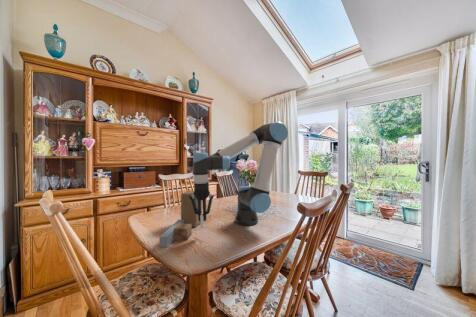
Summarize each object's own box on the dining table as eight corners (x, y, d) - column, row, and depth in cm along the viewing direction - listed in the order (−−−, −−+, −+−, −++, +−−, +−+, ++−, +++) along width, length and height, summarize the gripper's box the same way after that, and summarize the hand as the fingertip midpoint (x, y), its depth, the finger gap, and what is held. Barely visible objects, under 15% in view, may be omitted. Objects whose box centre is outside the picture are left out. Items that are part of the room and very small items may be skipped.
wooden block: (195, 227, 119) (195, 194, 119) (180, 226, 121) (180, 193, 121) (202, 222, 129) (202, 191, 128) (187, 220, 131) (187, 190, 130)
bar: (184, 228, 118) (184, 219, 118) (167, 247, 94) (167, 236, 94) (178, 228, 119) (178, 219, 118) (159, 247, 95) (159, 236, 94)
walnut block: (191, 234, 109) (191, 224, 109) (187, 240, 102) (187, 228, 102) (179, 234, 110) (179, 223, 110) (174, 239, 103) (174, 228, 103)
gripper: (215, 181, 108) (216, 224, 109) (191, 181, 109) (192, 224, 110) (212, 183, 100) (213, 229, 101) (186, 183, 101) (188, 229, 102)
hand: (202, 226), depth 106 cm, fingers closed
